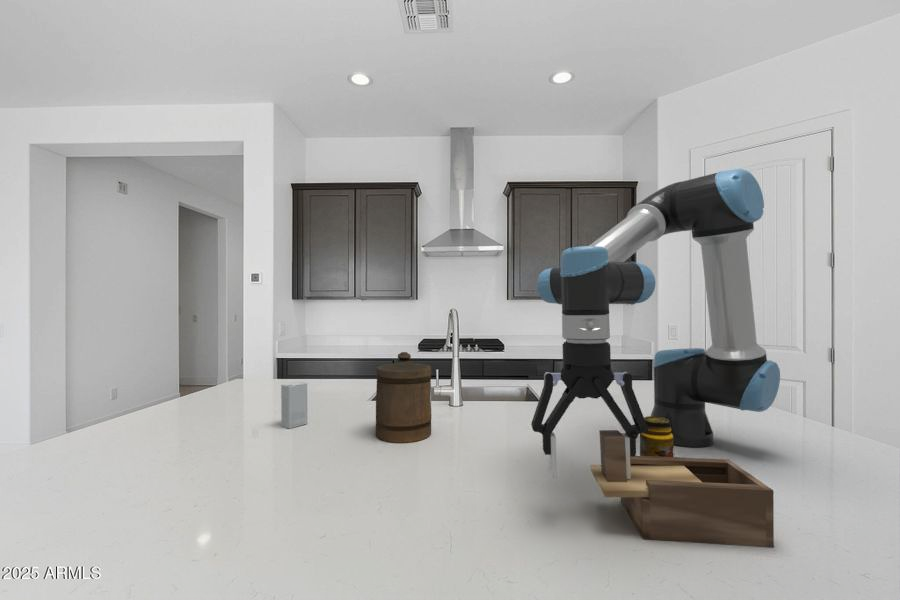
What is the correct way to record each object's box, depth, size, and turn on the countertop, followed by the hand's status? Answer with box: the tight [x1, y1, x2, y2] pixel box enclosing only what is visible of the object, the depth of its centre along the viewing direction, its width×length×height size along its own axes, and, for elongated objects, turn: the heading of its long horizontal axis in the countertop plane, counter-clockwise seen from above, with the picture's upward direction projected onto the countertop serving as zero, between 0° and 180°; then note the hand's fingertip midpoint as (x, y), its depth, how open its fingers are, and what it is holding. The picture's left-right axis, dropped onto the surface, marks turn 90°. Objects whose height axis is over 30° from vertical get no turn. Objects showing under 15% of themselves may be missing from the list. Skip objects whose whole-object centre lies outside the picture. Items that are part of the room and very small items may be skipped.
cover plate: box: [589, 429, 701, 498], centre depth 68 cm, size 10×15×8 cm, turn 83°
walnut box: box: [619, 455, 775, 548], centre depth 68 cm, size 12×18×8 cm, turn 83°
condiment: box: [639, 415, 674, 457], centre depth 85 cm, size 7×8×12 cm
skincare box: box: [280, 381, 308, 429], centre depth 121 cm, size 6×4×12 cm
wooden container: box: [375, 351, 432, 444], centre depth 113 cm, size 15×15×22 cm
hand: (588, 474), depth 69 cm, fingers open, 11 cm apart
